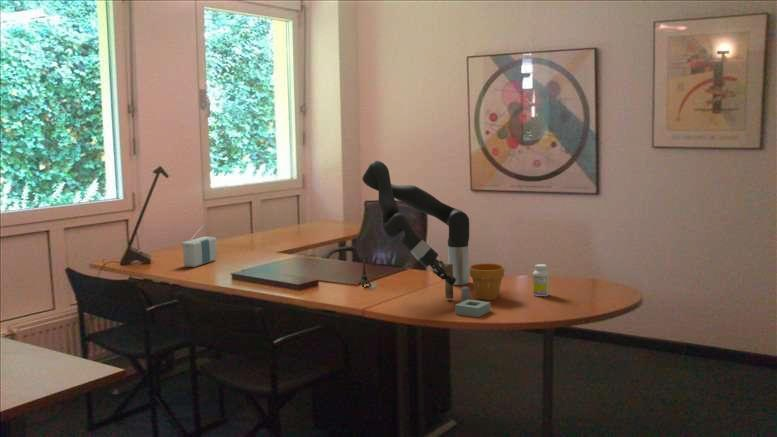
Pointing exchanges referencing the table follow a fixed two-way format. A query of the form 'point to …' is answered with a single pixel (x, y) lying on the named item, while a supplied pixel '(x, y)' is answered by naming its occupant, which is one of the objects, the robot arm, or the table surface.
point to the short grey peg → (465, 293)
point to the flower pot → (487, 280)
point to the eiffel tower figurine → (365, 280)
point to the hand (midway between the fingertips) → (454, 282)
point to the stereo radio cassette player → (199, 251)
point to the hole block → (472, 308)
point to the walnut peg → (447, 286)
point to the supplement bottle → (541, 280)
